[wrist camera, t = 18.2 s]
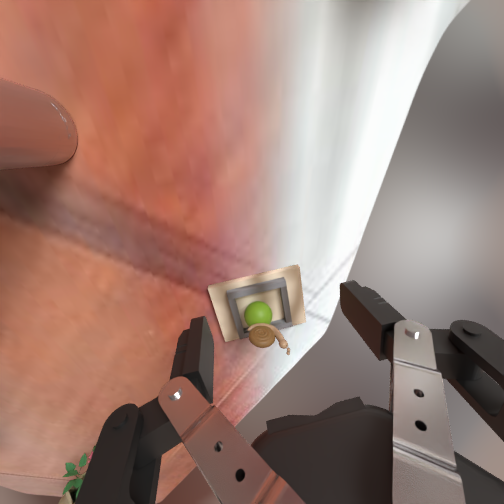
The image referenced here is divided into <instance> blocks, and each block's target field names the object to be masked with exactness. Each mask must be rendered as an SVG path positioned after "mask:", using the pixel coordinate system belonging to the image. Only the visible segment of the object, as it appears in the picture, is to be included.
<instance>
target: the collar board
mask: <svg viewBox="0 0 504 504" xmlns="http://www.w3.org/2000/svg"><path fill="white" fill-rule="evenodd" d="M208 291H209V294H210V297H211V300H212V303H213V306H214V309H215V312H216V315H217V318H218V321H219V324H220V327H221V330H222V333H223V336H224V339H225V342H228V341H232V340H236V339H243V338H247V337H249V332H250V331H248V328H249V326H248V325H247V324H246V322H245V318H244V313H245V310H246V308H247V306H248V305H249V304H250V303H252V302H255V301H262V302H264V303H266V304H267V305H268V306H269V307H270V308H271V310H272V321H271V323H270V325H273V326H275V327H276V328H277V329H278V330H279V329H283V328H287V327H291V326H293V325H297V324H301V323H305V322H306V318H305V310H304V301H303V292H302V284H301V275H300V267H299V266H298V264H297V265H293V266H289V267H285V268H280V269H276V270H272V271H268V272H263V273H259V274H255V275H251V276H247V277H242V278H238V279H234V280H230V281H225V282H221V283H217V284H213V285H209V286H208Z"/></svg>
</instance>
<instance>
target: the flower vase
mask: <svg viewBox="0 0 504 504" xmlns="http://www.w3.org/2000/svg"><path fill="white" fill-rule="evenodd" d="M95 447H96V446H94V448H93V451H92V452H91V455H90V456H89V458H90V460H91V458H92V455H93V452H94V450H95ZM86 462H87V457H86V454H85V453H84V455H83V456H82V458H81V460H80V463H79V466H80V467H81V468H82V466H84V465H86ZM88 463H90V461H88ZM88 465H89V464H88ZM75 467H76V466H75V465H74V464H72V463H66V470H67V472H68V473H67V474H65V475H64V476H63V477H69V476H73V475H77V474H78V472H77V470H74V469H75ZM80 470H81V469H80ZM79 473H80V472H79ZM85 474H86V472H85V473H84V474H82V475H81V474H79V475H81V476H80V477H77V476H76V477H77V479H74V480H71V481H69V482H68V484H67V485H66V487H65V488H64V492H63V495H64V494H65V495H64V496H63V497H62V498H61V500H60V502H59V504H75V501H76V499H77V496H78V493H79V490H80V488H81V485H82V482H83V480H84V477H85Z"/></svg>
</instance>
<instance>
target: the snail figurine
mask: <svg viewBox="0 0 504 504" xmlns="http://www.w3.org/2000/svg"><path fill="white" fill-rule="evenodd" d="M244 318H245V322H246V324H247V325H248V326H249V328H248V331H250V332H249V340H250V342H251V343H252V344H253V345H255V346H257V347H260V348H266V347H269V346H271V345H272V344H273V343H274V341H275V337H276V339H277V340H278V341H279V346H280V347H281V348H283V349H284V348H287V346H288V343H287V341H286V340H285V339H284V337H283V336H282V334H281V333H280V331H279V330H278V329H277V328H276V327H275V326H273V325H270V323H271V321H272V310H271V308H270V307H269V306H268V305H267V304H266V303H264V302H262V301H255V302H252V303H250V304H249V305H248V306H247V308H246V310H245V313H244ZM289 354H290V348H288V349H287V355H289Z"/></svg>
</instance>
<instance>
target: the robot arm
mask: <svg viewBox="0 0 504 504" xmlns="http://www.w3.org/2000/svg"><path fill="white" fill-rule="evenodd" d="M76 147H77V132H76V128H75V125H74V123H73V121H72V119H71V117H70V115H69V114H68V112H67V111H66V110H65V109H64V107H63V106H62V105H61V104H59V103H58V102H57V101H56V100H55V99H53V98H52V97H50V96H49V95H47V94H45V93H43V92H41V91H39V90H36V89H33V88H30V87H27V86H24V85H21V84H18V83H15V82H12V81H9V80H6V79H3V78H0V170H6V169H17V168H29V167H41V166H52V165H58V164H62V163H64V162H66V161H68V160H69V159H70V158H71V157H72V156H73V154H74V152H75V150H76ZM340 305H341V309H342V312H343V314H344V315H345V316H346V318H347V319H348V320H349V322H350V323H351V324H352V326H353V327H354V328H355V330H356V331H357V332H358V333H359V335H360V336H361V337H362V339H363V340H364V341H365V343H366V344H367V345H368V347H369V348H370V349H371V350H372V352H373V353H374V354H375V356H376V357H377V358H378V360H379V361H381V360H384V359H388V360H389V361H390V362H391V366H390V393H389V410H386V409H383V408H380V407H377V406H372V405H364V404H363V402H362V400H361V399H360V397H356V398H352V399H348V400H344V401H340V402H337V403H335V404H333V405H332V406H330V407H329V408H327V409H326V410H324V411H322V412H321V413H319V414H317V415H315V416H307V415H305V416H304V415H288V416H284V417H280V418H276V419H272V420H269V421H266V423H267V429H268V430H266V431H264V432H263V433H262V434H260V436H258V437H257V438H256V439H255V440H254V442H253V443H252V444H251V445H250V444H249V443H248V442H247V441H246V440H245V439H244V437H243V436H242V435H241V434H240V433H239V432H238V431H237V430H236V428H235V427H234V426H233V425H232V424H231V423H230V422H229V421H228V419H227V418H226V417H225V416H224V415H223V414H222V413H221V412H220V410H219V409H218V408H217V407H216V406H214V405H213V406H211V405H210V404H211V403H213V369H214V341H213V336H212V333H211V331H210V328H209V325H208V322H207V319H206V317H205V316H202V317H198V318H194V319H191V323H190V329H187V330H184V331H183V332H182V334H181V335H180V337H179V339H178V343H177V348H176V354H175V357H174V362H173V367H172V371H171V376H170V380H169V381H168V382H167V383H166V384H165V385H164V386H163V388H162V389H161V391H160V393H159V396H158V397H156V398H155V399H153V400H152V401H150V402H148V403H146V404H145V405H143V406H141V407H139V408H138V407H137V406H136V405H135V404H125V405H123V406H121V407H119V408H118V409H116V410H115V411H114V412H113V413H112V414H111V415H110V416H109V417H108V419H107V420H106V422H105V423H104V426H103V428H102V431H101V433H100V436H99V439H98V442H97V444H96V447H95V450H94V452H93V455H92V458H91V461H90V463H89V466H88V469H87V471H86V474H85V477H84V480H83V482H82V485H81V488H80V490H79V493H78V496H77V499H76V501H75V504H155V501H156V494H157V486H158V479H159V472H160V465H161V457H162V454H164V453H166V452H167V451H169V450H170V449H172V448H173V447H175V446H176V445H178V444H179V443H181V442H183V444H184V446H185V447H186V449H187V450H188V452H189V454H190V455H191V457H192V458H193V460H194V462H195V463H196V465H197V466H198V468H199V469H200V471H201V473H202V474H203V476H204V477H205V479H206V481H207V482H208V484H209V486H210V487H211V489H212V490H213V492H214V494H215V495H216V497H217V498H218V500H219V502H220V503H221V504H504V482H503V481H502V480H500V479H499V478H497V477H495V476H494V475H492V474H491V473H489V472H487V471H485V470H484V469H483V468H481V467H479V466H478V465H476V464H475V463H473V462H471V461H470V460H468V459H466V458H465V457H463V456H462V455H460V454H458V453H457V452H455V451H454V449H453V443H452V436H451V430H450V424H449V418H448V411H447V405H446V399H445V392H444V386H443V380H442V379H443V378H444V379H447V380H448V382H449V383H450V384H451V385H452V386H453V387H454V388H455V389H456V390H457V391H458V392H459V393H460V395H461V396H462V397H463V398H464V399H465V400H466V401H467V402H468V403H469V404H470V406H471V407H472V408H473V409H474V410H475V411H476V412H477V413H478V414H479V415H480V416H481V418H482V419H483V420H484V421H485V422H486V423H487V424H488V425H489V426H490V427H491V428H492V430H493V431H494V432H495V433H496V434H497V435H498V436H499V437H500V438H501V439H502V440H503V442H504V340H503V339H502V338H500V337H499V336H497V335H496V334H495V333H493V332H492V331H491V330H489V329H488V328H486V327H485V326H483V325H481V324H478V323H475V322H472V321H467V320H458V321H454V322H453V323H452V324H451V326H450V329H428V328H427V327H426V326H425V325H423V324H421V323H419V322H416V321H413V320H406V319H405V318H404V317H403V316H402V315H401V314H400V313H398V311H396V310H395V309H394V308H393V307H392V306H391V305H390V304H389V303H387V302H386V301H385V300H384V299H383V298H381V296H380V295H379V294H378V293H376V292H375V291H374V290H372V289H370V288H368V287H361V286H360V285H359V284H358V283H357V282H356V281H354V280H352V281H348V282H344V283H341V284H340ZM484 371H485V372H486V373H487V374H488V375H489V376H490V377H489V376H488V375H487V374H486V373H485V372H484ZM494 380H495V381H496V382H497V383H498V384H499V385H500V386H499V385H498V384H497V383H496V382H495V381H494Z"/></svg>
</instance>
